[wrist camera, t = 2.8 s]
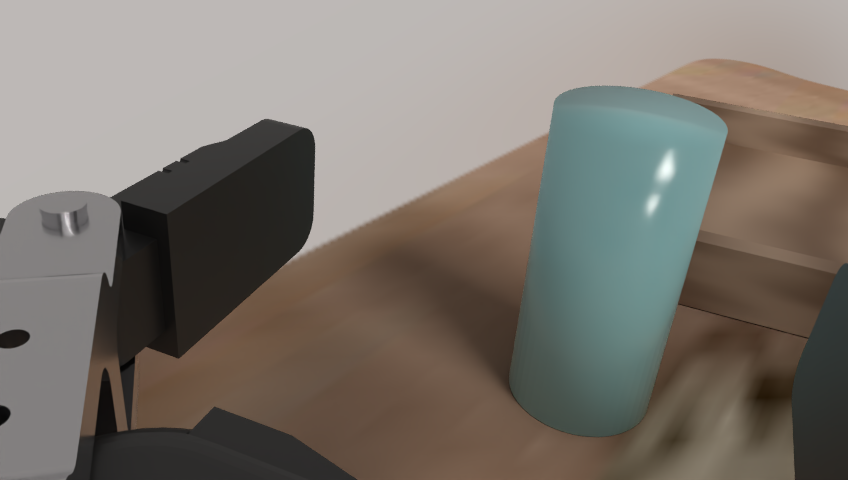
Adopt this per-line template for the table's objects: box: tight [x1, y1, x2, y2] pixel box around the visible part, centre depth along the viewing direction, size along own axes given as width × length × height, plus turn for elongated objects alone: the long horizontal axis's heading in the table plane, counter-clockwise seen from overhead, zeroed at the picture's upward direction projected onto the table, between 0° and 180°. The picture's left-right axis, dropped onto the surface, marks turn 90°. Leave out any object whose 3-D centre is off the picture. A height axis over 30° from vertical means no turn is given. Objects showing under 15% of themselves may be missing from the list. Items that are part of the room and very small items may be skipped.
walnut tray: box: [673, 94, 848, 338], centre depth 37 cm, size 18×18×3 cm
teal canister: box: [509, 86, 728, 437], centre depth 24 cm, size 5×5×10 cm
